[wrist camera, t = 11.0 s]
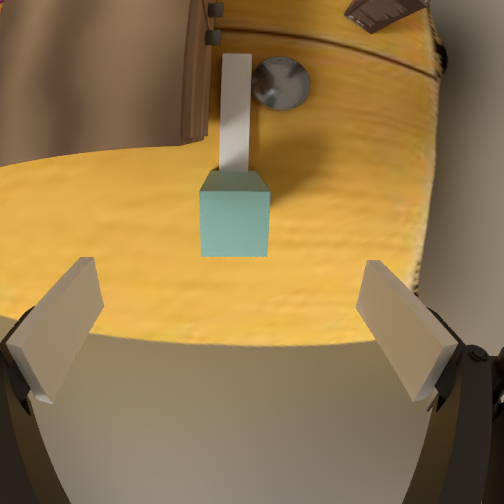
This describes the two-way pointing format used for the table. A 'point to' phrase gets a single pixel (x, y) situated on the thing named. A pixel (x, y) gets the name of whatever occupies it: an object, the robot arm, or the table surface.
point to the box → (381, 12)
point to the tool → (234, 176)
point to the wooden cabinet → (103, 75)
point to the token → (280, 84)
